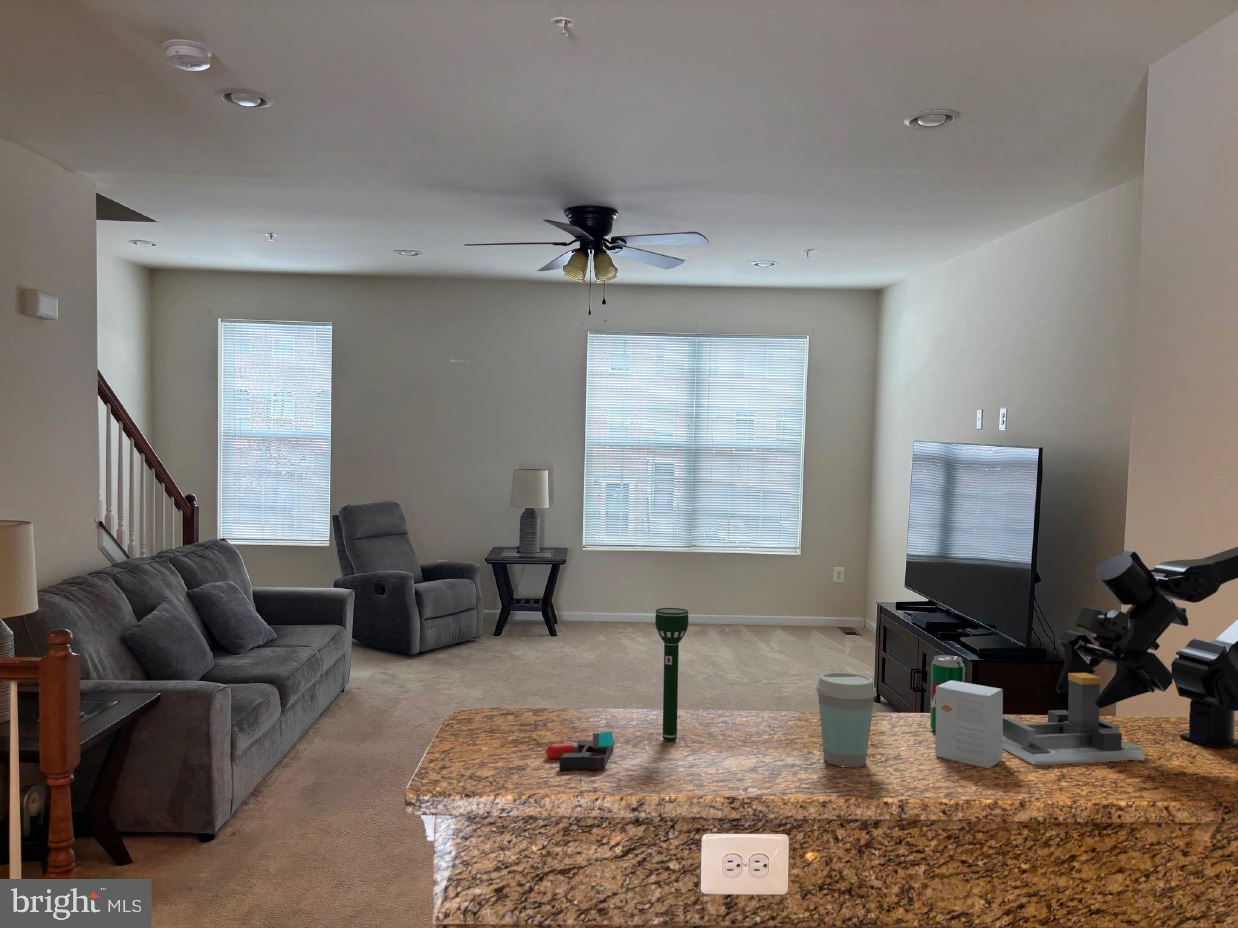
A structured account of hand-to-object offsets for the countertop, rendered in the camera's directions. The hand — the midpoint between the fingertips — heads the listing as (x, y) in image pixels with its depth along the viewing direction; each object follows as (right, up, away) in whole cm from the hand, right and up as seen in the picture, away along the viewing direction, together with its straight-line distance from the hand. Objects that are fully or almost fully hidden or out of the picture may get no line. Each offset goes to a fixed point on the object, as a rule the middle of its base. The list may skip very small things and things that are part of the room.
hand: (1077, 698), depth 135 cm
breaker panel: (-3, -8, -1) cm, 8 cm away
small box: (-19, -8, -6) cm, 21 cm away
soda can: (-17, -8, +7) cm, 20 cm away
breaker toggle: (+1, -6, 0) cm, 6 cm away
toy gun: (-76, -7, -9) cm, 77 cm away
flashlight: (-63, -7, 0) cm, 63 cm away
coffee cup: (-38, -7, -8) cm, 39 cm away
